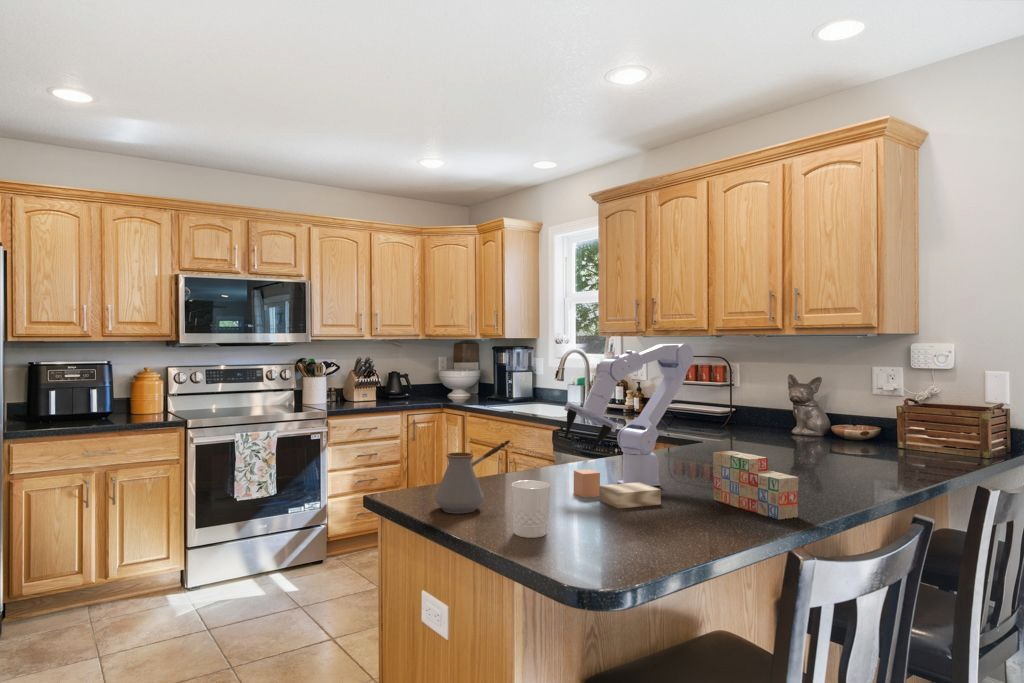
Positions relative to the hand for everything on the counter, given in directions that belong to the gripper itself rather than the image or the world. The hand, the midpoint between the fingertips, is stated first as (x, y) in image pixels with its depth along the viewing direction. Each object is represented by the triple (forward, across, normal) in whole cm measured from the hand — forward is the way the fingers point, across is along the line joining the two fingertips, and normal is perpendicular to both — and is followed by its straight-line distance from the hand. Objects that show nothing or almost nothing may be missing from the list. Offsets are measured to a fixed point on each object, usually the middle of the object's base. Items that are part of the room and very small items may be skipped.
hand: (578, 445), depth 168 cm
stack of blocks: (-2, +44, -7) cm, 45 cm away
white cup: (+27, -1, -31) cm, 41 cm away
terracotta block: (+10, +7, +3) cm, 13 cm away
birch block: (+9, +17, -4) cm, 20 cm away
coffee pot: (+26, -16, -10) cm, 32 cm away
